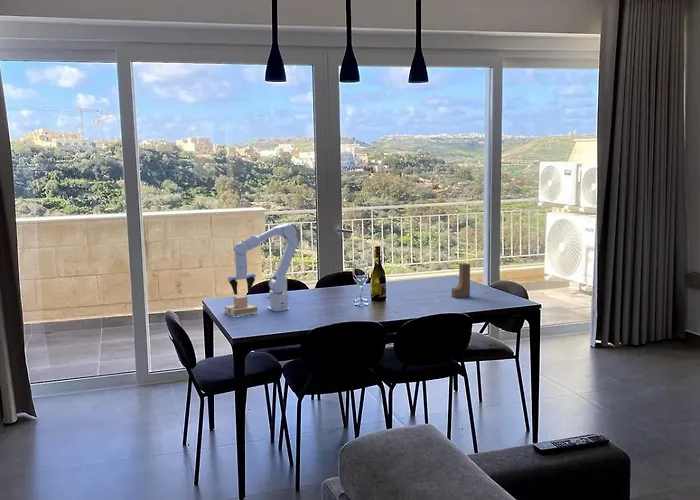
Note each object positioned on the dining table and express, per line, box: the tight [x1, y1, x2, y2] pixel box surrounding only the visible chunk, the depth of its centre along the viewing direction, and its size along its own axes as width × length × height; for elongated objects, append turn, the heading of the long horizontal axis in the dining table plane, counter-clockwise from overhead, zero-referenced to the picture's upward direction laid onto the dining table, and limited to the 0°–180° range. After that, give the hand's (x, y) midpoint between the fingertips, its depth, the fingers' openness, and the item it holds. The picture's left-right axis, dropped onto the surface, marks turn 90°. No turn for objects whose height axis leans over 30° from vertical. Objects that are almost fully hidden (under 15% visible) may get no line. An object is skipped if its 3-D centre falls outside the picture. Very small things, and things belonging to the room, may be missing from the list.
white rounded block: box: [269, 276, 288, 296], centre depth 376 cm, size 8×6×10 cm
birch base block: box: [224, 302, 258, 318], centre depth 337 cm, size 12×12×4 cm
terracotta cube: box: [233, 294, 249, 308], centre depth 336 cm, size 5×5×5 cm
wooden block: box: [451, 262, 471, 299], centre depth 366 cm, size 9×4×18 cm, turn 108°
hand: (242, 293), depth 338 cm, fingers open, 7 cm apart
